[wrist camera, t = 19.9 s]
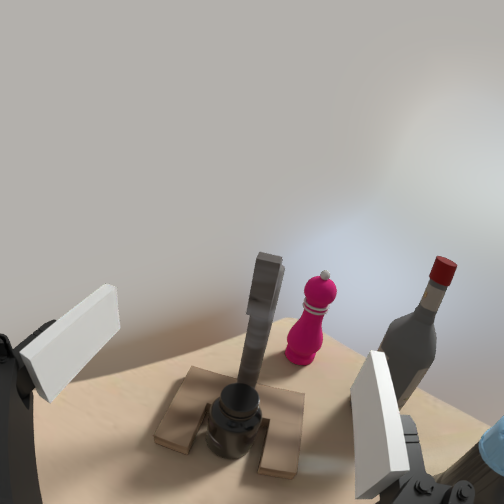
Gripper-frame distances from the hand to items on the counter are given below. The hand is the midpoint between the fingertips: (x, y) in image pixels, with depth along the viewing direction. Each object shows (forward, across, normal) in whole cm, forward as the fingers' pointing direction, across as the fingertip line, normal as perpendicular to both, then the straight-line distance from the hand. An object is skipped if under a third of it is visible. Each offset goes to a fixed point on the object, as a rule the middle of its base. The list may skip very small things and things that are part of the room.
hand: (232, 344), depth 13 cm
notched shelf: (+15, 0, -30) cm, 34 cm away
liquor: (+25, +24, -30) cm, 46 cm away
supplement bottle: (+12, 0, -30) cm, 32 cm away
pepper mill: (+36, +9, -30) cm, 48 cm away
